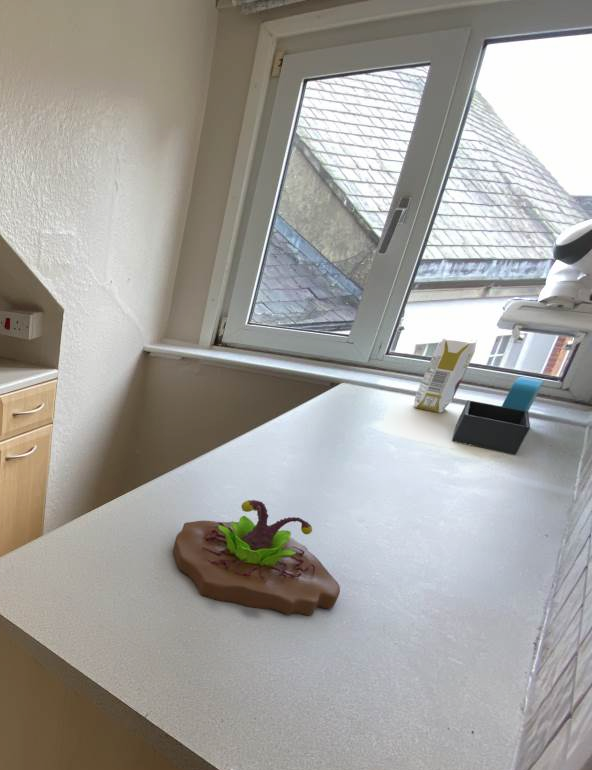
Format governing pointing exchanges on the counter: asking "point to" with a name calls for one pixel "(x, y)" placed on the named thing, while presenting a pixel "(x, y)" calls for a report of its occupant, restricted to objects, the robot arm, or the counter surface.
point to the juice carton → (444, 373)
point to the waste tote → (492, 427)
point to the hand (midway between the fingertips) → (542, 345)
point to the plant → (254, 564)
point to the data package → (522, 393)
